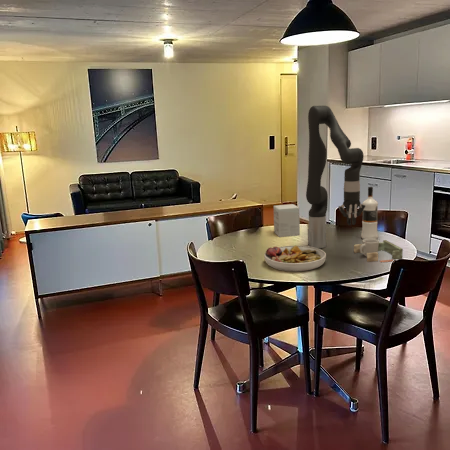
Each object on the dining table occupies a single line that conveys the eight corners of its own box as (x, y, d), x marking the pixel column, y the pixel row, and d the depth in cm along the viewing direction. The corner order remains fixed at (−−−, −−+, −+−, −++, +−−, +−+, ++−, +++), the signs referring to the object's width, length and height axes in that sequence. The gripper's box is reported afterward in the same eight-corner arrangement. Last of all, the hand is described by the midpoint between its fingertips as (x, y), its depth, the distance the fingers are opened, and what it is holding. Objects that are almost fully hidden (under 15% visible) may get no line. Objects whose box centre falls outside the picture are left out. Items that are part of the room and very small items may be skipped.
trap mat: (381, 262, 210) (381, 262, 210) (379, 261, 212) (379, 260, 212) (395, 261, 210) (395, 260, 210) (392, 259, 213) (392, 259, 213)
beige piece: (368, 261, 212) (368, 252, 211) (353, 252, 228) (353, 242, 227) (402, 258, 214) (402, 248, 212) (385, 249, 230) (385, 240, 229)
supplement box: (294, 230, 280) (293, 203, 276) (300, 235, 267) (299, 207, 263) (273, 232, 278) (272, 205, 274) (279, 237, 266) (278, 209, 262)
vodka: (366, 235, 258) (367, 185, 252) (380, 237, 252) (382, 186, 245) (358, 239, 252) (358, 187, 245) (373, 241, 246) (374, 188, 239)
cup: (366, 260, 215) (366, 244, 213) (354, 256, 222) (354, 241, 220) (382, 256, 219) (382, 240, 218) (370, 252, 226) (370, 237, 224)
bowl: (326, 255, 227) (326, 240, 225) (325, 274, 199) (325, 258, 197) (268, 254, 234) (268, 240, 232) (260, 273, 206) (259, 257, 204)
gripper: (341, 192, 207) (341, 227, 211) (368, 190, 209) (368, 225, 213) (335, 190, 215) (335, 224, 219) (362, 188, 216) (361, 222, 220)
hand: (351, 224), depth 216 cm, fingers closed
